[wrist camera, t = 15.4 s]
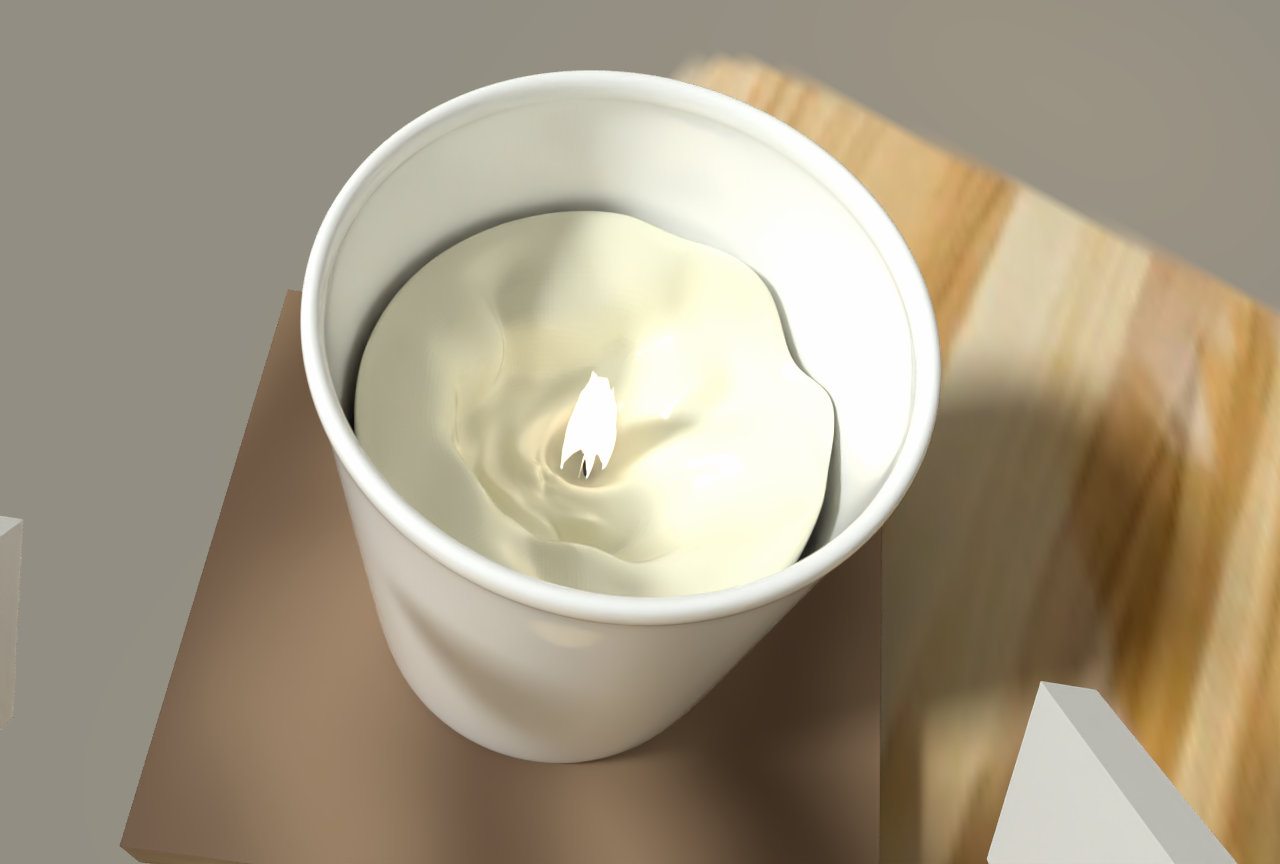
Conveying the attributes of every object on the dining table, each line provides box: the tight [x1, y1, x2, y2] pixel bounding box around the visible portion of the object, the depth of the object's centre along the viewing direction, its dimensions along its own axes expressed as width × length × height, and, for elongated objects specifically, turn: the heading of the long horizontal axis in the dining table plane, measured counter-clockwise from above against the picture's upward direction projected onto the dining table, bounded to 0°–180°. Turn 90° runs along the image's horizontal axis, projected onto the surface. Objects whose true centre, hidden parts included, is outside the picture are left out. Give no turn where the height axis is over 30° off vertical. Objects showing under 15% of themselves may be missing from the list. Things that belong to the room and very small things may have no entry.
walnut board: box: [120, 290, 882, 864], centre depth 30 cm, size 16×14×2 cm
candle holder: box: [300, 70, 941, 763], centre depth 24 cm, size 10×10×12 cm
